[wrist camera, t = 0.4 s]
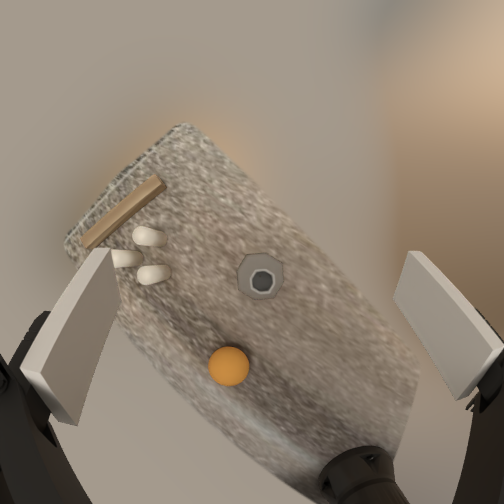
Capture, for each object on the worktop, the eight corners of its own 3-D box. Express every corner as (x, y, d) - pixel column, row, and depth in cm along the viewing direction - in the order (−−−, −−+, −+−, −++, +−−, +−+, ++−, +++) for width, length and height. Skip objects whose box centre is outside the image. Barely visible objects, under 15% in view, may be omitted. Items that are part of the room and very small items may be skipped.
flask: (231, 294, 45) (225, 304, 35) (242, 247, 45) (239, 244, 35) (278, 304, 45) (285, 317, 35) (289, 258, 45) (299, 258, 35)
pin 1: (146, 260, 45) (124, 260, 37) (135, 269, 45) (111, 271, 37) (137, 247, 45) (115, 245, 37) (127, 256, 45) (102, 256, 37)
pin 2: (170, 240, 45) (152, 237, 37) (158, 250, 45) (138, 248, 37) (161, 228, 45) (142, 222, 37) (150, 237, 45) (129, 233, 37)
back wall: (166, 187, 45) (161, 183, 42) (94, 248, 45) (85, 248, 42) (160, 178, 45) (154, 173, 42) (89, 239, 45) (79, 238, 42)
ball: (257, 363, 45) (257, 378, 39) (226, 383, 45) (223, 399, 39) (233, 334, 45) (231, 345, 39) (203, 355, 45) (196, 368, 39)
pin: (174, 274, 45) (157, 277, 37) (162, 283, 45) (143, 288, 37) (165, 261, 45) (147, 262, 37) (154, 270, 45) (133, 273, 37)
